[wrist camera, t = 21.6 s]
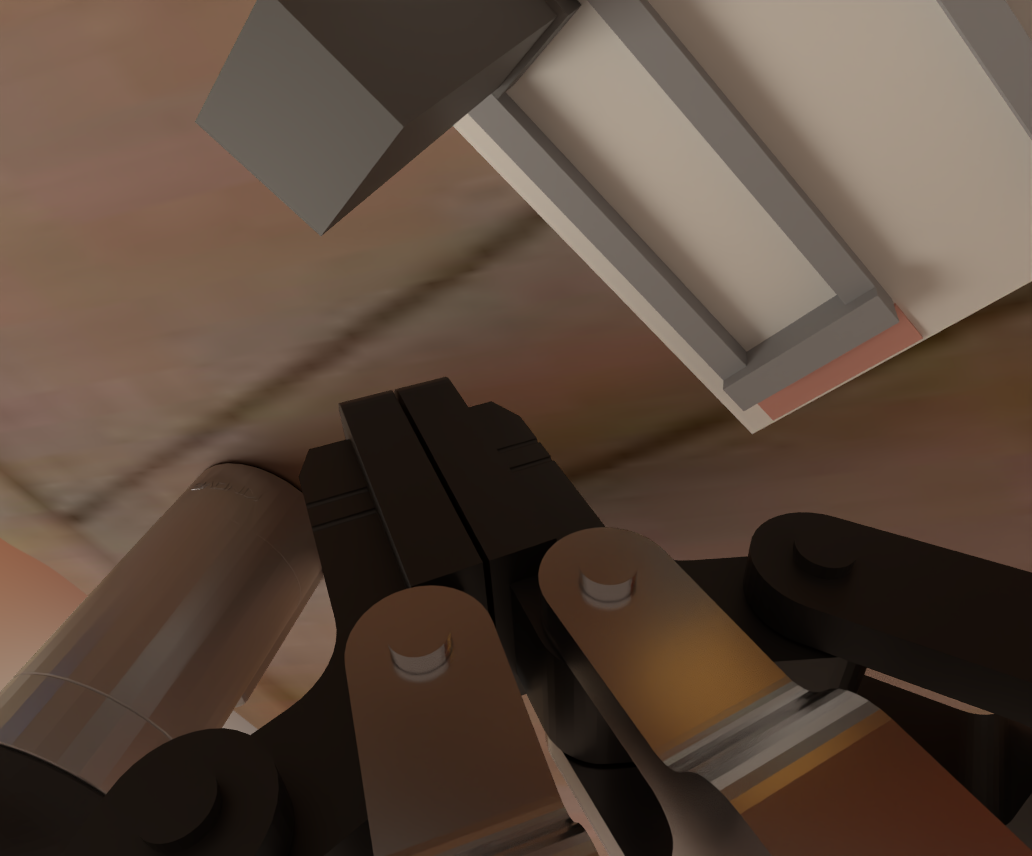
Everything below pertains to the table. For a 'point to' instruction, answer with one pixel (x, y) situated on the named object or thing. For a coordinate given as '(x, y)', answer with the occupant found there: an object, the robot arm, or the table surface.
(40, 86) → the table surface
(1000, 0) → the panel
